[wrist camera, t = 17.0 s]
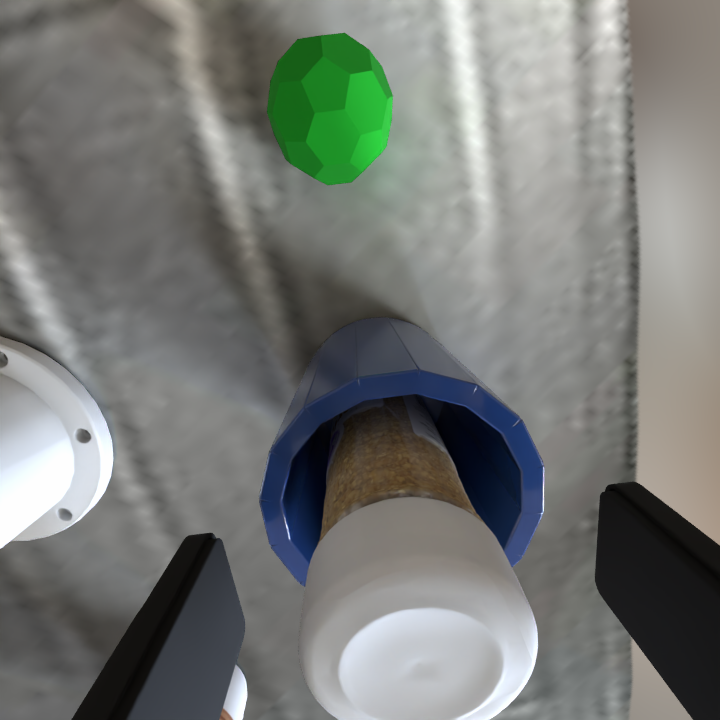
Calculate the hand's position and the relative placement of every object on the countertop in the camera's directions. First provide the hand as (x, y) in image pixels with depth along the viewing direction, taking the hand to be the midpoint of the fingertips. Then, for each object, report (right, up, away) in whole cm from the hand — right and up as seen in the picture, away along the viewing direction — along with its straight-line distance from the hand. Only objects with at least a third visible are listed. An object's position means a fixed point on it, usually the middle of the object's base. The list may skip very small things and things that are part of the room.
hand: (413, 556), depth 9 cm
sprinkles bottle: (0, +3, +11) cm, 11 cm away
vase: (0, +3, +11) cm, 12 cm away
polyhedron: (-2, +16, +8) cm, 18 cm away
